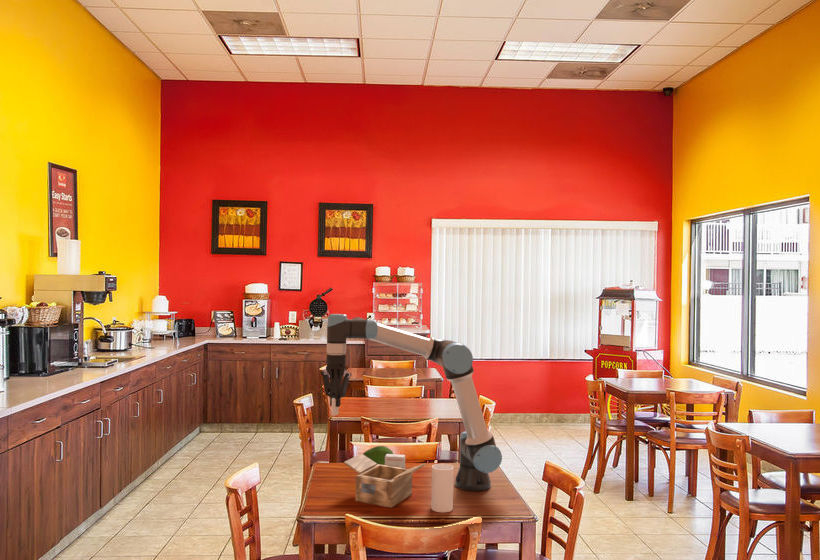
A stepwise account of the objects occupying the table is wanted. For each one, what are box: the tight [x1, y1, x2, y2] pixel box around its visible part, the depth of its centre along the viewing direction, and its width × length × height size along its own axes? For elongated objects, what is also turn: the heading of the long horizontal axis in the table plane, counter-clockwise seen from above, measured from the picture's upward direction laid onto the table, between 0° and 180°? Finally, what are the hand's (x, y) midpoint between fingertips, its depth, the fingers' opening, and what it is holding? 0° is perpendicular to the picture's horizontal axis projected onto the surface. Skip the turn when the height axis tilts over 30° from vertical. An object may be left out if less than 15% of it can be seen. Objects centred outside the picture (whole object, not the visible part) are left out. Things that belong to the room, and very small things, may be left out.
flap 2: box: [393, 462, 427, 480], centre depth 244 cm, size 1×14×8 cm
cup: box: [430, 463, 455, 513], centre depth 238 cm, size 8×8×16 cm
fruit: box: [362, 445, 394, 465], centre depth 290 cm, size 15×10×10 cm, turn 91°
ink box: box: [385, 453, 406, 469], centre depth 269 cm, size 8×5×12 cm, turn 84°
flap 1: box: [343, 453, 377, 474], centre depth 254 cm, size 1×14×8 cm
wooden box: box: [355, 464, 413, 509], centre depth 249 cm, size 16×19×10 cm
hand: (334, 414), depth 241 cm, fingers closed
